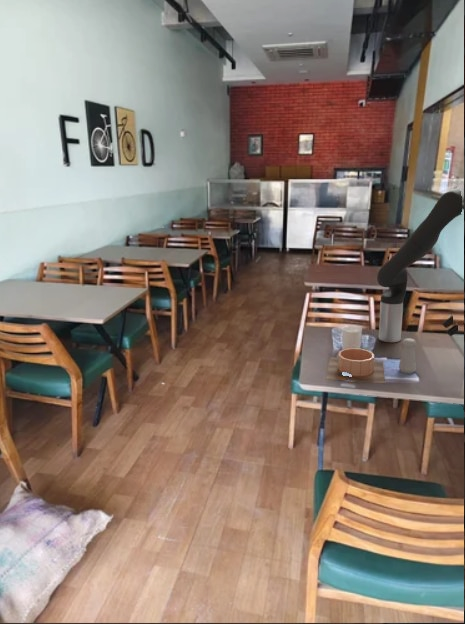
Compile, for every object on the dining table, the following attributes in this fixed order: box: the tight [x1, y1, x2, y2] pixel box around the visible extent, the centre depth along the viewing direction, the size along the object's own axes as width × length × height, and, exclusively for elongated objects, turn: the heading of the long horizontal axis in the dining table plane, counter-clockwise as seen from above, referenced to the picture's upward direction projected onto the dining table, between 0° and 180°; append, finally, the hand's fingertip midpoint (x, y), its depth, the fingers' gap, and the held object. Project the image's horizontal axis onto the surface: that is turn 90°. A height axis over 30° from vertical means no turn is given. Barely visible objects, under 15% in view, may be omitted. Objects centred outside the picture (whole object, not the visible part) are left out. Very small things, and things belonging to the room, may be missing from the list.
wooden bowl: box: [337, 348, 375, 377], centre depth 158 cm, size 13×13×6 cm
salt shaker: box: [398, 337, 417, 375], centre depth 154 cm, size 6×6×13 cm
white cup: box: [341, 325, 363, 350], centre depth 177 cm, size 8×8×10 cm
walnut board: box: [325, 357, 386, 385], centre depth 159 cm, size 20×20×1 cm
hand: (446, 329), depth 148 cm, fingers open, 8 cm apart
